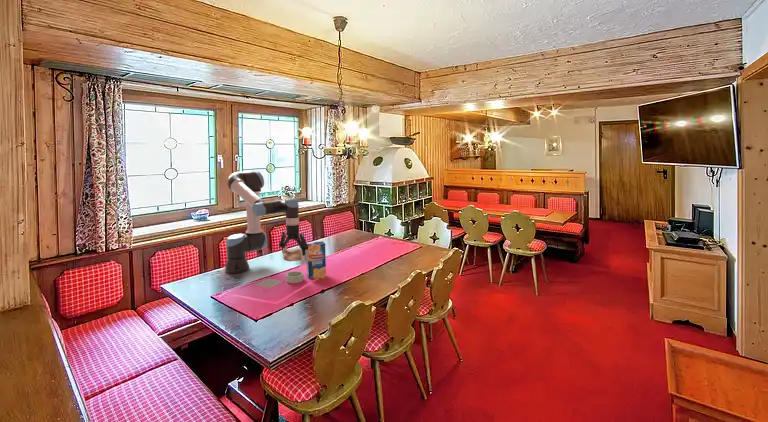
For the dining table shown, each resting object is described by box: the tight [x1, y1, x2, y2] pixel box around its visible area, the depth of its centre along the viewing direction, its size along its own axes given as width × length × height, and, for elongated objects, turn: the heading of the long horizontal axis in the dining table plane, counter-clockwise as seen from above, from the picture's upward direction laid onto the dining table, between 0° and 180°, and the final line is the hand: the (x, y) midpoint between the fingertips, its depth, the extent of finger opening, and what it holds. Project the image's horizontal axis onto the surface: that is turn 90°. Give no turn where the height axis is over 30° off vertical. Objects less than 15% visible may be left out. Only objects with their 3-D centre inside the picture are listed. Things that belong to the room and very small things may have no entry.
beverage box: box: [305, 240, 327, 280], centre depth 244 cm, size 7×11×22 cm, turn 111°
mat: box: [255, 278, 284, 289], centre depth 232 cm, size 12×12×1 cm
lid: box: [282, 248, 302, 262], centre depth 234 cm, size 12×12×4 cm
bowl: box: [285, 270, 304, 284], centre depth 237 cm, size 10×10×5 cm
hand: (294, 259), depth 235 cm, fingers closed on lid, 12 cm apart
